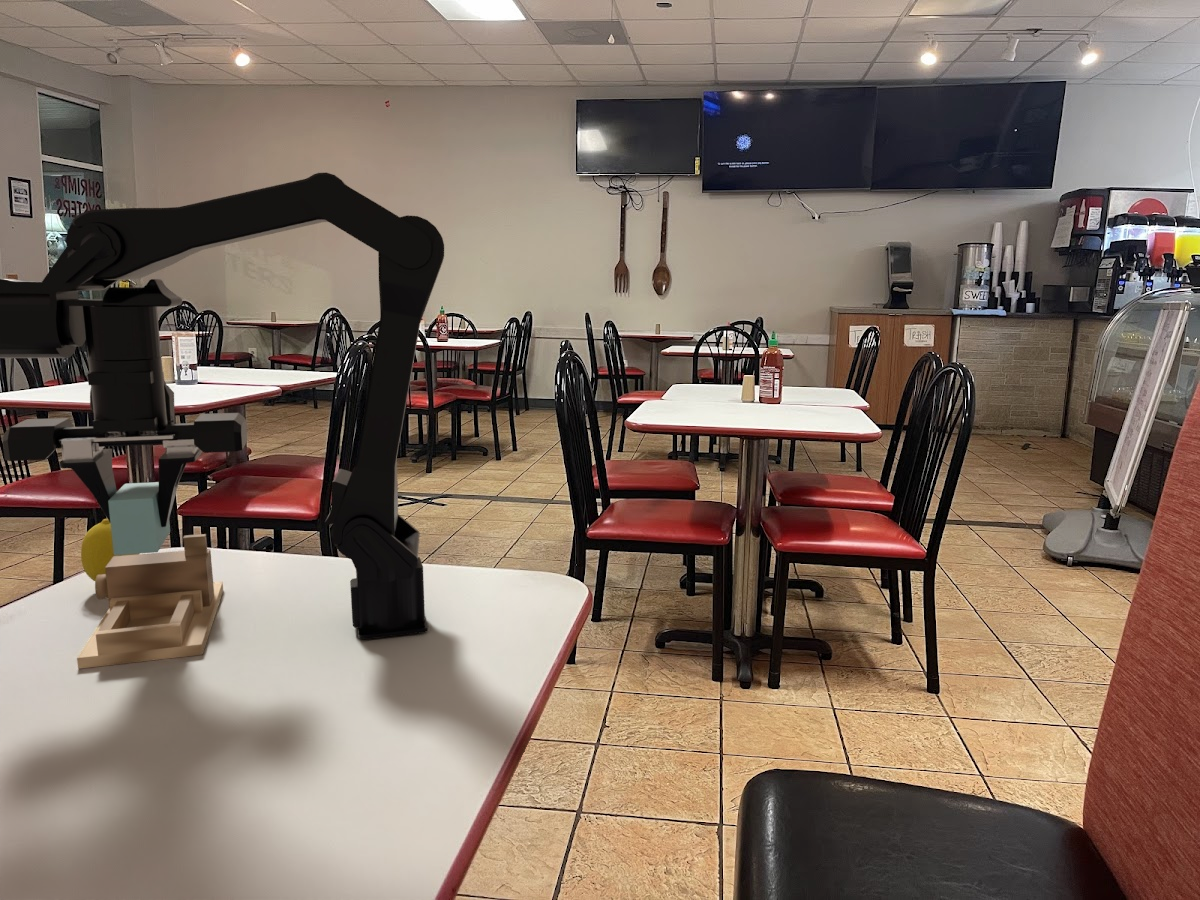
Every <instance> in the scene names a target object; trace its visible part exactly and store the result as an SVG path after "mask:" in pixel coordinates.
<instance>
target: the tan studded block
mask: <svg viewBox="0 0 1200 900" xmlns="http://www.w3.org/2000/svg"><path fill="white" fill-rule="evenodd" d="M182 539H183V548H184V550H178V551H164V552H154V553H140V554H137V555H125V556H113V558H112V559H111V560H110V562H109V563H108V564H107V566H106V567H105V571H106V574H102V575H97V577H96V581H94V583H95V584H94V589H95V595H96V598H97V600H103V599H108V606H109V607H110V603H109V602H110V600H111V599H112V598H121V597H132V596H143V595H153V594H164V593H175V592H186V591H196V590H201V592H202V603H203V607H205V606H210V605H211V602H212V599H213V596H214V585H213V583H214V575H213V564H212V563H213V562H212V554H211V551H212V550H211V548H208V543H207V533H204V534H203V533H202V534H188V535H187V534H186V535H183V538H182Z"/></svg>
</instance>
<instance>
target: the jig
mask: <svg viewBox="0 0 1200 900" xmlns="http://www.w3.org/2000/svg"><path fill="white" fill-rule="evenodd" d="M213 585H214V596H213V599H212V602H211V605H210V606H205V607H203V603H202V592H201V590H196V591H186V592H175V593H164V594H153V595H143V596H132V597H121V598H112V599H111V600H110V602H109V601H108V604H109V603H110V606H109V608H108V609H107V611H106V612H105V614H104V616H103V617H102V619H101V620H100V622H99V624H98V625H97V626H96V628H95V630H94V631H93V633H92V634H91V636H90V637H89V638H88V640H87V642H86V644H85V645H84V646H83V648H82V650H81V651H80V653H79V654H78V656H77V657H76V662H77V670H78V669H86V668H87V669H88V668H96V667H104V666H113V665H122V664H124V665H125V664H133V663H138V662H139V663H140V662H149V661H150V662H151V661H157V660H165V659H166V660H167V659H175V658H184V657H192V656H193V657H194V656H200V655H203V654H204V651H205V648H206V644H207V643H208V642H207V641H208V638H209V636H210V633H211V631H212V626H213V623H214V620H215V617H216V614H217V611H218V608H219V605H220V602H221V599H222V596H223V592H224V583H223V581H215V582H214V581H213Z"/></svg>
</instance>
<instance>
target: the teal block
mask: <svg viewBox="0 0 1200 900" xmlns="http://www.w3.org/2000/svg"><path fill="white" fill-rule="evenodd" d="M108 504H109V513H110V523H111V533H112V542H113V552H114V555H126V554H150V553H159V550H160V549H161V548H162V546H163V544H164V543H165V541H166V540H167V538H168V536H169V535H170V533H171V526H170V524H171V523H170V520H169V521H168V524H167V526H166V527H161V521H160V516H159V481H155V482H132V483H124V484H123V485H122V486H121V487H120V488H119V489H117V492H116V493H115V494H114V495H113V496H112V497H111V498H110V499H109V500H108Z"/></svg>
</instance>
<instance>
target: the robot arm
mask: <svg viewBox="0 0 1200 900" xmlns="http://www.w3.org/2000/svg"><path fill="white" fill-rule="evenodd" d="M70 223H71V224H70V226H69V227H68V229H67V233H66V238H65V245H66V247H65V248H64V250H63V251H62V253H61V254H60V256H59V257H58V258H57V260H56V262H55V263H54V264H53V265H52V267H51V268H50V270H49V271H48V272H47V274H46V275H45V277H44V278H43V279H42V281H30V280H29V281H26V280H25V281H24V280H19V279H15V278H0V359H69V358H70V357H72V356H73V354H74V353H75V351H76V349H77V347H82V346H84V344H85V342H86V351H87V352H86V353H87V360H88V361H87V362H88V369H89V370H88V371H89V372H88V373H87V382H88V386H90V391H89V405H90V406H89V407H90V410H91V411H92V412H93V419H94V420H92V426H74V425H73V422H72V420H71V418H70V417H59V418H58V417H56V418H55V417H54V418H28V419H25V420H22V421H21V422H18V423H17V424H15V425H11V426H10V427H8V429H7V430H6V431H5V432H4V433H3V436H2V437H3V438H2V448H3V456H4V461H8V462H21V461H24V462H25V461H43V460H46V459H48V458H50V456H51V455H52V454H53V453H54V452H55V451H56V450H57V449H61V458H62V460H60V461H59V462H58V463H59V468H60V469H71V470H72V471H73V472H74V473H75V475H76V476H77V477H78V478H79V480H81V482H82V483H83V484H84V486H85V487H86V488H87V489H88V490H89V492H90V493H91V494H92V496H93V497H94V499H95V501H96V503H97V504H98V505H99V507H100V509H101V511H102V512H103V514H104V516H105V517H106V519H108V520H109V522H110V513H109V504H108V500H109V499H110V498H111V497H112V496H113V495H114V494H115V493H116V492H117V491H118V489H117V486H116V485H117V484H116V480H115V475H114V470H113V448H105V447H125V446H152V445H155V446H156V445H162V446H163V449H165V451H164V453H162V455H161V456H159V458H158V482H159V516H160V521H161V527H166V526H167V524H168V521H169V522H170V517H171V512H172V509H173V505H174V502H175V498H176V494H177V490H178V487H179V483H180V480H181V478H182V475H183V473H184V470H185V468H186V466H187V464H191V463H195V462H197V460H198V459H199V457H200V456H201V455H202V453H204V454H207V453H208V454H209V453H210V454H211V453H231V452H232V453H233V452H234V453H235V452H239V451H243V450H244V448H245V446H246V444H247V442H248V429H247V428H248V426H247V420H246V418H245V417H244V416H243V415H242V414H241V413H240V412H228V413H227V412H226V413H225V412H224V413H222V412H219V413H217V412H216V413H200V415H198V417H196V418H195V420H193V422H190V423H189V422H187V423H184V422H183V423H175V422H176V421H175V414H176V413H175V392H174V391H173V390H172V389H171V388H170V387H169V385H167V382H166V380H165V376H164V375H165V374H164V370H163V359H162V349H161V339H160V328H159V327H160V326H159V316H158V307H163V308H167V307H168V308H169V307H177V306H181V305H182V304H183V299H182V298H181V297H180V296H179V295H177V294H176V293H174V292H173V291H172V290H171V289H170V288H168V287H167V286H166V284H165V283H164V282H163V280H162V279H159V278H151V279H149V280H148V282H147V283H146V284H145V285H144V286H143V287H140V286H139V287H135V286H134V287H132V286H131V287H130V286H129V287H128V286H127V287H126V286H113V285H114V284H116V283H117V282H118V281H120V280H122V281H126V280H127V281H129V280H131V281H132V280H139V279H141V278H144V277H146V276H150V275H152V274H153V273H156V272H158V271H161V270H164V269H166V268H168V267H170V266H173V265H175V264H177V263H178V262H180V261H182V260H184V259H186V258H188V257H190V256H192V255H194V254H196V253H198V252H201V251H203V250H209V249H211V248H212V249H213V248H216V247H221V246H225V245H230V244H234V243H237V242H242V241H246V240H251V239H255V238H260V237H264V236H269V235H273V234H278V233H282V232H287V231H290V230H295V229H298V228H303V227H308V226H311V225H313V226H314V225H317V224H320V223H330V224H331V225H332V226H335V227H336V228H338V229H340V230H341V231H343V232H345V233H346V234H347V235H349V236H351V237H353V238H355V239H356V240H358V241H360V242H361V243H363V244H365V245H366V246H367V247H369V248H371V249H373V250H374V251H376V252H378V255H377V256H378V291H379V308H380V311H379V312H380V313H379V314H380V315H379V317H380V318H379V324H378V329H377V334H376V335H377V336H376V342H375V346H374V354H373V358H372V359H373V360H372V366H371V372H370V377H369V383H368V384H369V385H368V389H367V395H366V401H365V406H364V413H363V419H362V424H361V430H360V437H359V443H358V449H357V455H356V460H355V463H354V465H353V468H352V471H350V470H346V469H343V468H339V469H338V471H337V473H336V475H335V477H334V479H333V480H332V483H331V509H330V511H329V513H328V515H327V517H326V519H325V521H324V526H330V525H332V526H331V529H330V534H331V535H330V536H331V540H332V545H333V546H335V548H336V549H337V551H338V552H340V554H341V555H343V556H345V557H346V558H347V559H349V560H351V562H352V564H353V566H354V568H355V575H356V578H354V577H353V578H351V579H350V580H349V581H350V582H349V583H350V585H349V586H350V600H351V604H350V605H351V618H352V626H353V627H354V628H357V632H358V639H360V640H370V639H379V638H387V637H398V636H404V635H412V634H422V633H427V632H428V630H429V626H428V621H427V618H426V614H425V613H426V612H425V611H426V610H425V589H424V588H425V587H424V586H425V581H424V579H425V578H424V566H423V562H422V560H421V557H419V549H420V536H421V534H420V533H421V532H420V531H419V530H418V529H416V528H415V527H414V525H412V524H411V523H410V522H408V521H407V520H406V519H405V518H404V517H402V516H401V515H400V514H399V500H398V499H399V498H398V497H399V487H398V485H399V484H398V463H397V462H398V460H397V459H398V458H397V457H398V452H399V448H400V447H399V446H400V442H401V435H402V431H403V424H404V420H405V419H404V418H405V412H406V408H407V407H406V406H407V403H408V402H407V400H408V396H409V389H410V384H411V379H412V378H411V377H412V373H413V368H414V367H413V366H414V360H415V357H416V351H417V343H418V337H419V332H420V326H421V323H422V319H423V317H424V314H425V311H426V309H427V308H426V307H427V306H428V302H429V300H430V298H431V295H432V293H433V289H434V287H435V283H436V281H437V278H438V276H439V272H440V270H441V267H442V265H443V262H444V259H445V243H444V239H443V236H442V234H441V233H440V231H439V229H438V228H437V226H435V225H434V224H433V223H431V222H430V221H429V220H427V219H426V218H423V217H420V216H418V215H403V216H398V215H397V214H396V213H394V212H391V211H390V210H389V209H387V208H385V207H384V206H382V205H381V204H379V203H377V202H375V201H374V200H372V199H371V198H368V197H367V196H365V195H364V194H362V193H360V192H359V191H356V190H355V189H353V188H351V187H350V186H348V185H347V184H346V183H345V182H344V181H343V180H342V179H341V178H340V177H338V176H336V175H335V174H332V173H329V172H317V173H313V174H312V175H310V176H309V177H307V178H303V179H299V180H295V181H290V182H285V183H281V184H276V185H271V186H267V187H263V188H257V189H253V190H249V191H245V192H240V193H236V194H231V195H228V196H223V197H219V198H214V199H213V198H212V199H209V200H205V201H201V202H196V203H191V204H186V205H182V206H177V207H126V208H125V207H124V208H106V209H105V208H103V209H100V208H99V209H91V210H86V211H84V212H82V213H79V214H78V215H76V216H75V217H74V218H73V219H72V220H71V222H70ZM104 290H106V291H105V293H104V294H103V297H102V298H92V299H91V298H80V297H79V292H84V291H86V292H87V291H88V292H89V291H104Z"/></svg>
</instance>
